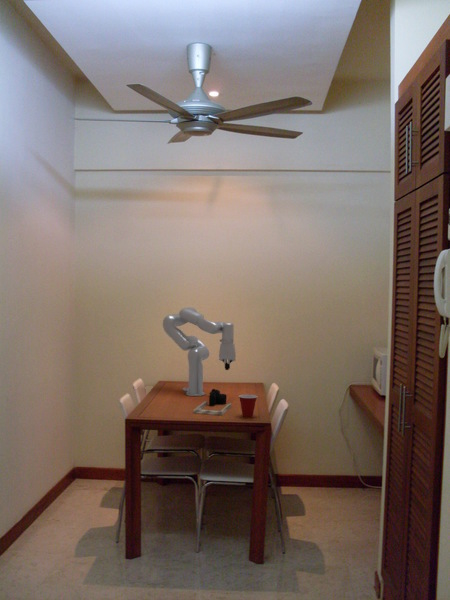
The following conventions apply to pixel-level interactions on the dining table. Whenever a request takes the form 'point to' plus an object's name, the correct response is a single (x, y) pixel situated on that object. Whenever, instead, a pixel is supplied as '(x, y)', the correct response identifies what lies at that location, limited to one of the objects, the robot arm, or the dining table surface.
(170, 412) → the dining table surface
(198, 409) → the camera rest
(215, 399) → the film camera
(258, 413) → the dining table surface
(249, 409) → the plastic cup
